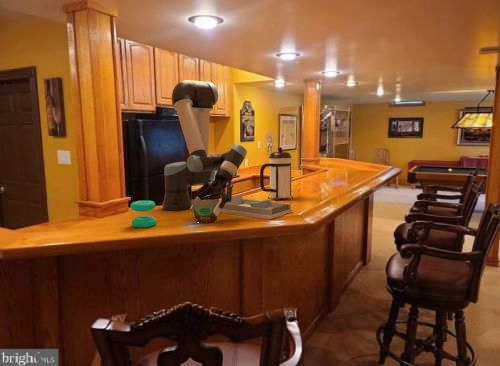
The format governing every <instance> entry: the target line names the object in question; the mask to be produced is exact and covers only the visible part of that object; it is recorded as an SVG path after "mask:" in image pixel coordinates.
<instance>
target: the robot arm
mask: <svg viewBox="0 0 500 366" xmlns="http://www.w3.org/2000/svg"><path fill="white" fill-rule="evenodd" d="M218 100H219V93H218V88H217V87H216V85H215V84H214V83H212V82H211V81H210V82H209V81H205V80H204V81H203V80H193V79H192V80H189V79H184V80H181V81H179V82H178V83H177V84H176V85H175V86H174V87H173V89H172V93H171V105H172V108H173V109H174V110H175V111H176V113H177V117H178V120H179V124H180V127H181V129H182V133H183V137H184V140H185V143H186V147H187V150H188V153H189V156H188V157H187V158H186V159H187V160H186V161H179V162H177V161H176V162H172V163H168V164H165V166H164V171H163V176H164V190H165V191H164V192H165V194H164V197H163V201H162V204H161V206H162V210H165V211H184V210H191V211H192V212H193V213H194V209H193V204H191V202H192V199H191V197H190V194H189V187H197V186H201V187H199V189H198V190H196V192H194V193H193V196H194V197H195V199H194V200H203V198H205V197H207V196H208V195H209V194H211V193H214V192H220V197H221V199H222V200H221V199H219V202H218V204H217V206H216V207H215V209H214V211H213V213H214V214H215V215H216V216H217V217H218V216H219V214H220V213H221V212H220V211H221V209H222V208H223V207H224V205H225V203H227V202H231V198H232V196H233V188H234V183H233V182H232V181H233V179H234V177H235V176H236V174H237V172H238V170H239V168H240V167H241V165H242V163H243V161H244V160H245V158H246V156H247V148H245V147H244V146H243V145H240V144H238V143H237V144H233V145H232V146H231V148H230V150H228V151H226V152H224V153H220V154H219V153H218V154H209V144H210V142H209V141H210V121H211V119H210V117H211V111H213V109H214V106H215V105H216V104H217V102H218Z"/></svg>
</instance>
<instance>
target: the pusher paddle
mask: <svg viewBox="0 0 500 366" xmlns="http://www.w3.org/2000/svg"><path fill="white" fill-rule="evenodd" d="M270 200H271V199H268V198H267V199H265V200H259V201H260V202H256V203H255V202H251V203H250V206H251V207H255V208H267V207H270V202H271V201H270Z"/></svg>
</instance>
